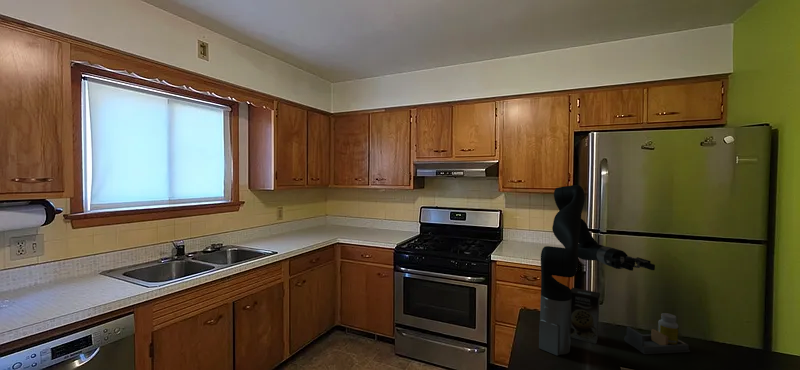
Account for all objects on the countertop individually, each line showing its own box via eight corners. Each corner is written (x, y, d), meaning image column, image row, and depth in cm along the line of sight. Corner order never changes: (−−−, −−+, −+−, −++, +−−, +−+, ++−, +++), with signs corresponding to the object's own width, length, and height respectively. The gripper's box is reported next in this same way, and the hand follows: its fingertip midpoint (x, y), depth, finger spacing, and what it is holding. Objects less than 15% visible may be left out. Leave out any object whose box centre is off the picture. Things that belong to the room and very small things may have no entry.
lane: (644, 354, 111) (645, 337, 111) (623, 340, 120) (624, 325, 120) (690, 351, 113) (691, 335, 113) (666, 338, 122) (667, 323, 122)
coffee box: (566, 337, 122) (568, 291, 122) (570, 330, 128) (571, 286, 127) (596, 344, 117) (598, 297, 116) (598, 337, 122) (600, 291, 122)
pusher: (665, 348, 114) (666, 337, 113) (651, 339, 119) (651, 329, 119) (667, 348, 114) (668, 337, 114) (653, 339, 119) (653, 328, 119)
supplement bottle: (681, 348, 114) (682, 319, 113) (662, 347, 115) (663, 317, 114) (671, 340, 119) (673, 312, 119) (654, 339, 120) (655, 311, 120)
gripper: (595, 248, 142) (625, 257, 126) (628, 247, 144) (661, 257, 127) (595, 266, 142) (624, 278, 126) (627, 266, 144) (660, 277, 128)
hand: (643, 267), depth 127 cm, fingers open, 8 cm apart
